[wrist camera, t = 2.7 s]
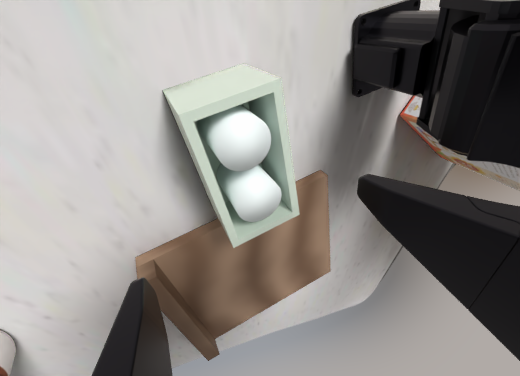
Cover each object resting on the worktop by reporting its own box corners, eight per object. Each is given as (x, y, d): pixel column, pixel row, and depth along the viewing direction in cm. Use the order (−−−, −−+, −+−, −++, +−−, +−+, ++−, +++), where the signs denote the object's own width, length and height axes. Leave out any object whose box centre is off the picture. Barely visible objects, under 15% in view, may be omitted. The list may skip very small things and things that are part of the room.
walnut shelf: (320, 169, 28) (340, 184, 25) (325, 265, 39) (339, 281, 37) (135, 257, 23) (138, 285, 21) (201, 336, 34) (208, 360, 32)
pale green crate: (243, 63, 18) (281, 77, 14) (269, 181, 25) (299, 214, 21) (162, 90, 17) (178, 114, 13) (212, 207, 24) (233, 248, 20)
